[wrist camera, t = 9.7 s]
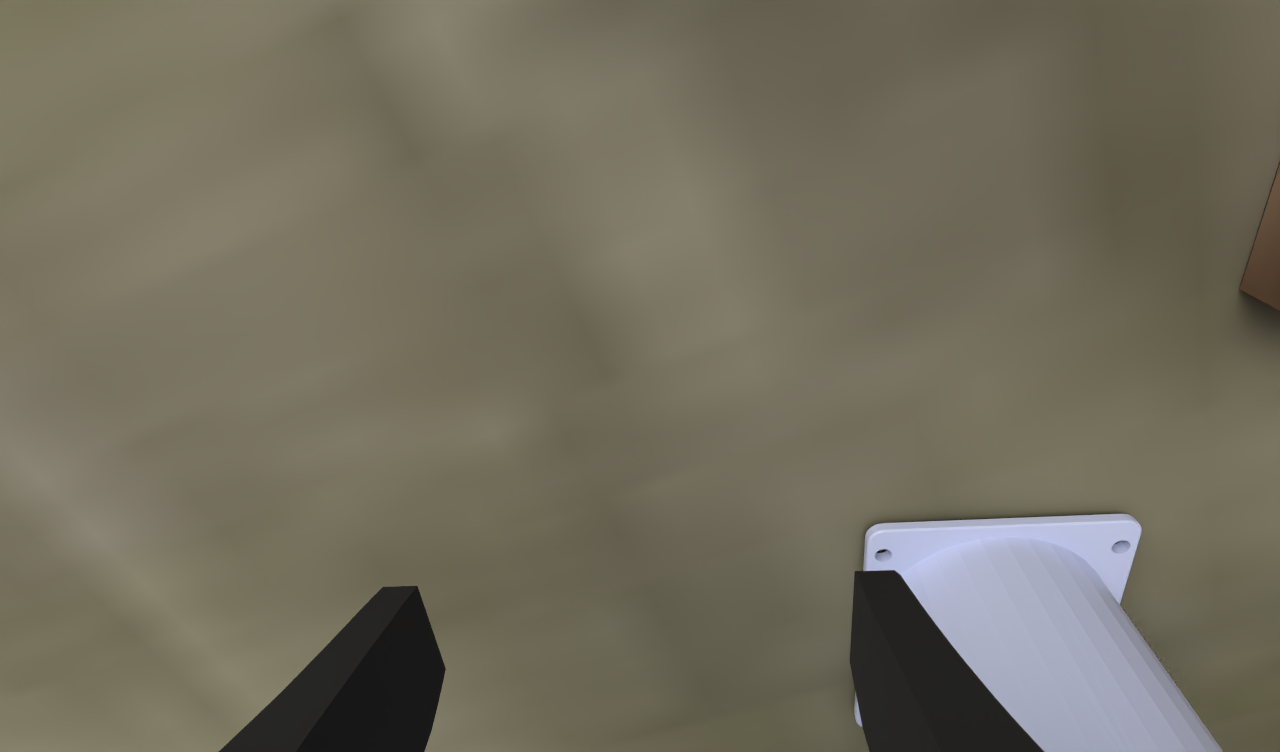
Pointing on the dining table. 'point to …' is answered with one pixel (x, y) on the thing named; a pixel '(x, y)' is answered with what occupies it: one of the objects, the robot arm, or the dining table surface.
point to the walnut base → (1266, 254)
